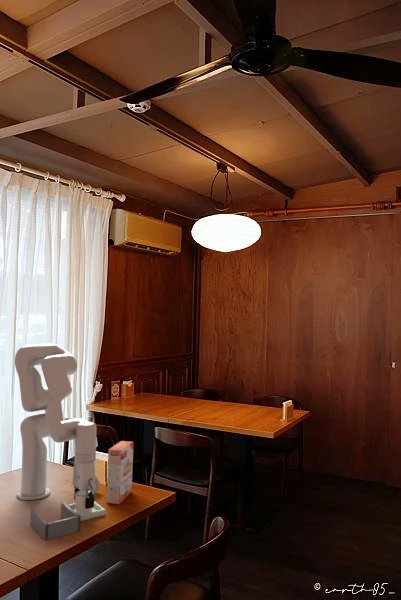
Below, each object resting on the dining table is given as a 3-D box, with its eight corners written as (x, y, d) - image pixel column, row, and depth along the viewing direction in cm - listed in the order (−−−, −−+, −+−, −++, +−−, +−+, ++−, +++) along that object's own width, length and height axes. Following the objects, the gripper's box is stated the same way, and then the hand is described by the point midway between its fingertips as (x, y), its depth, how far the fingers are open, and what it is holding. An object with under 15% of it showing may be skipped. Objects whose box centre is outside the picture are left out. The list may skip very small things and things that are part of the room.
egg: (84, 495, 197) (84, 477, 197) (87, 491, 202) (88, 473, 202) (97, 496, 197) (98, 477, 197) (100, 491, 202) (101, 473, 202)
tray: (62, 511, 181) (62, 506, 181) (91, 504, 188) (91, 499, 188) (74, 522, 172) (75, 516, 172) (105, 515, 179) (105, 509, 179)
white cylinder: (70, 514, 178) (71, 494, 178) (81, 507, 184) (82, 488, 184) (86, 517, 175) (87, 497, 175) (97, 510, 182) (97, 491, 182)
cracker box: (120, 505, 188) (122, 450, 189) (105, 503, 189) (107, 449, 190) (132, 492, 202) (134, 441, 202) (118, 490, 203) (120, 440, 204)
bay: (30, 524, 170) (30, 509, 170) (63, 516, 177) (64, 502, 177) (45, 540, 158) (45, 524, 158) (80, 531, 165) (80, 516, 166)
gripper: (66, 452, 185) (64, 498, 185) (85, 464, 171) (84, 514, 171) (84, 449, 190) (83, 494, 189) (105, 461, 176) (103, 509, 175)
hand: (83, 503), depth 180 cm, fingers open, 9 cm apart
